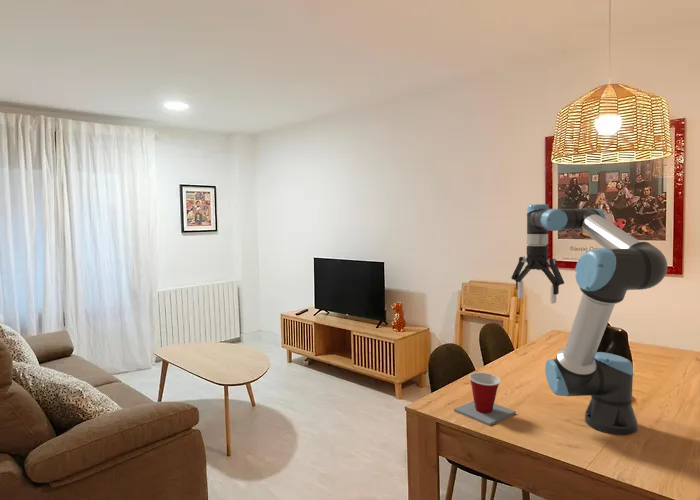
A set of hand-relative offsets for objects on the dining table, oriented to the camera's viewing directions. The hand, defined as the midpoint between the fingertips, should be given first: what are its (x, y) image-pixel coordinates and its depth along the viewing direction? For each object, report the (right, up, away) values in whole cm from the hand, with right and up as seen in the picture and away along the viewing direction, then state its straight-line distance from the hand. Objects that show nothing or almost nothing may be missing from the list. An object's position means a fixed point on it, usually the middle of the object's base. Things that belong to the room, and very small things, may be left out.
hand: (536, 300), depth 177 cm
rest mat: (-24, -38, -13) cm, 47 cm away
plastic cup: (-24, -38, -13) cm, 46 cm away
